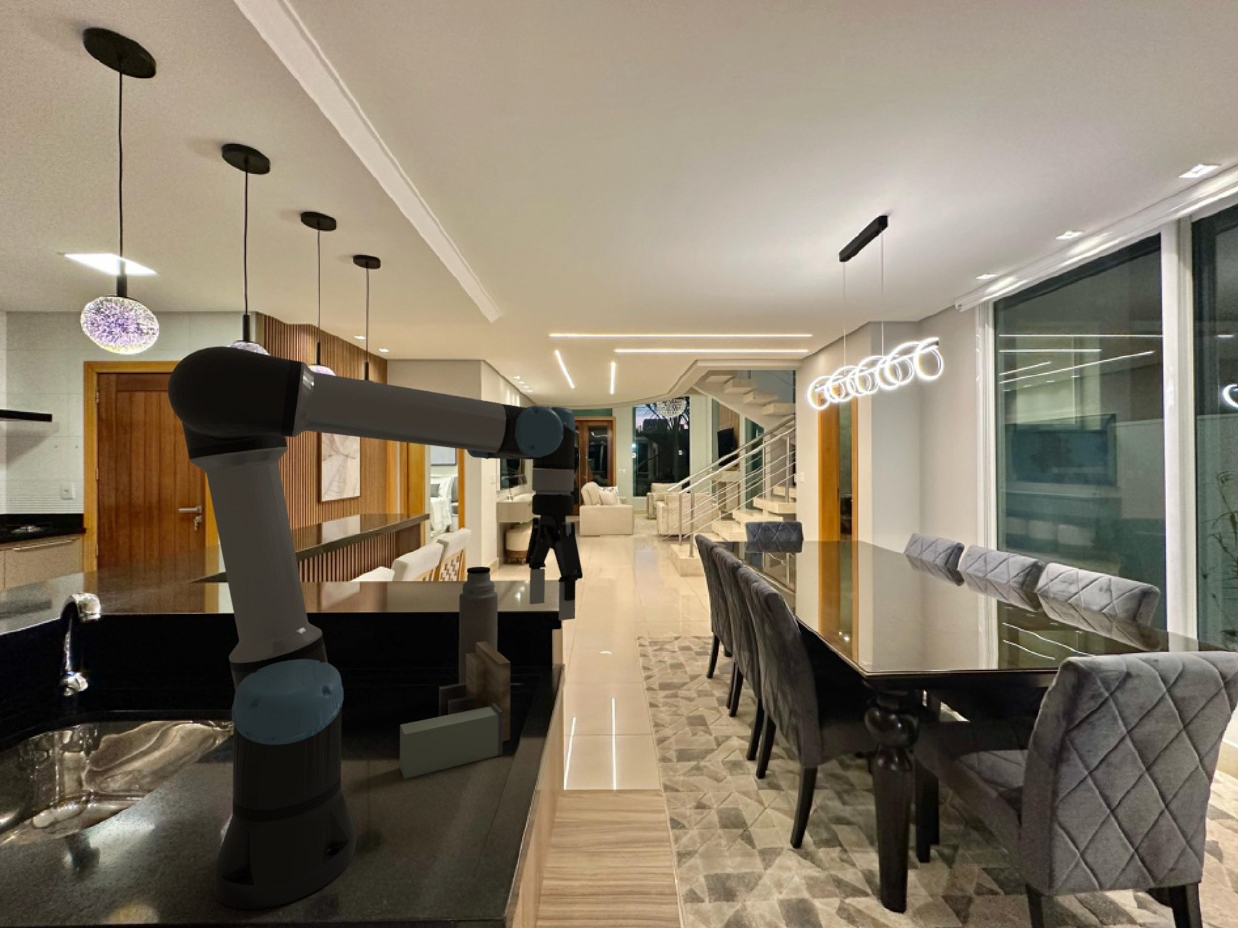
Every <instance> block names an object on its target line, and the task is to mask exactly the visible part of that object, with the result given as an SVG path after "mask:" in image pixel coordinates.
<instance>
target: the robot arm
mask: <svg viewBox="0 0 1238 928" xmlns="http://www.w3.org/2000/svg"><path fill="white" fill-rule="evenodd" d="M167 397H168V400H169V404H170V406H171V408H172V410H173V413H174V414H175V415H176V416H177V417H178V418H179V420H180V421H181V424H182V428H183V434H184V440H185V444H186V450H187V453H188V459H189V462H190V463H191V464H193V465H195V466H196V467H198V468H199V469H201V470H203V472H204V473H206V479H207V483H208V489H209V493H210V494H209V495H210V500H211V503H212V508H213V515H214V519H215V524H216V530H217V534H218V540H219V544H220V550H221V554H222V561H223V565H224V570H225V575H226V581H227V585H228V589H229V594H230V601H231V606H232V610H233V611H232V612H233V616H234V620H235V625H236V630H237V636H238V640H239V641H238V643H237V644H236V646H235V647H234V648H233V650H232V651H230V652H231V653H230V654H229V655H228V659H229V665H230V670H231V671H230V672H231V675H232V680H233V684H234V686H233V687H234V690H235V693H234V700H233V703H232V706H231V720H232V722H233V737H232V739H233V742H232V745H233V746H232V813H231V818H230V821H229V823H228V827H227V829H226V832H225V834H224V838H223V840H222V843H221V846H220V847H219V852H218V854H217V857H216V860H215V862H214V866H213V867H214V868H213V881H212V882H213V883H212V885H213V888H212V889H213V894H214V897H216V899H217V900H218V902H220V903H222V905H225V906H227V907H230V908H233V909H237V910H259V909H260V910H261V909H262V910H263V909H268V908H273V907H276V906H277V907H278V906H282V905H285V904H288V903H292V902H294V901H297V900H299V899H302V898H304V897H306V896H307V897H308V895H311V894H313V893H315V892H316V891H318V890H320V889H322V888H324V887H325V886H326V885H328V884H330V882H332V881H334V880H335V879H336V878H337V877H338V876H340V874H341V873H342V872H344V871H345V870H346V868H347V867H348V866H349V865H350V863H351V861H352V859H354V855H355V852H356V827H355V824H354V821H353V818H352V815H351V813H350V810H349V808H348V805H347V802H346V799H345V797H344V794H343V791H342V780H341V779H342V706H343V701H344V687H343V685H342V678H341V674H340V672H339V671H338V669H337V668H336V666H333V665H332V664H330V663H329V662H328V656H327V651H326V645H325V641H324V637H323V631H322V629H320V628H319V627H317V626H315V625H313V624H311V623H310V622H309V620H308V615H307V614H308V613H307V609H306V603H305V599H304V594H303V593H304V592H303V587H302V582H301V577H300V571H299V566H298V561H297V556H296V555H297V554H296V551H295V545H294V539H293V534H292V529H291V523H290V519H289V513H288V507H287V503H286V497H285V491H284V487H283V481H282V477H281V471H280V465H279V461H280V459H282V457H283V456H284V455H285V453H286V452H287V451H288V449H289V448H288V442H287V438H296V437H298V436H299V435H301V434H302V433H303V432H312V433H313V432H315V433H323V434H330V435H339V436H347V437H348V436H349V437H356V438H364V439H373V440H384V441H391V442H399V443H407V444H408V443H409V444H416V445H417V444H418V445H426V446H432V447H433V446H434V447H441V448H442V447H444V448H449V449H458V450H459V449H460V450H465V451H467V453H468V454H469V456H471V457H472V458H475V459H476V458H477V459H478V458H479V459H485V460H489V459H497V460H498V459H500V460H532V469H531V470H532V475H531V477H532V478H531V479H532V480H531V482H532V483H531V490H532V491H533V492H535V493H534V494H533V495H532V496H531V499H532V500H531V513H532V514H533V515H534V516H536V517H533V518H532V521H531V522H532V525H531V531H530V536H529V541H528V546H527V551H526V556H525V563H526V564H527V565H528V568H529V569H530V570H529V604H530V605H538V604H545V595H546V593H545V590H546V587H545V585H546V580H545V579H546V569H545V568H547V565H546V562H545V561H546V560H547V558H548V554H549V551H550V549H552V550H553V553H554V557H555V560H556V564H557V567H558V570H559V573H560V577H559V578H558V580H557V581H558V583H559V585H558V586H559V587H558V620H559V621H567V620H575V619H576V583H577V582H578V580H581V579H583V577H584V574H583V569H582V563H581V559H580V553H579V548H578V543H577V536H576V524H575V521H569V522H567V518H566V517H567V516H571V515H573V514H574V513H575V512H574V511H575V510H574V509H575V506H574V505H575V504H574V503H575V497H574V495H573V494H571V492H574V490H575V480H576V478H577V477H576V475H575V452H576V451H575V450H576V448H575V447H576V446H575V444H576V435H577V432H576V418H575V413H574V411H573V410H572V409H570V408H567V407H561V406H543V405H542V406H541V405H531V406H527V407H525V406H520V405H519V406H517V405H514V404H513V405H512V404H507V403H500V402H496V401H495V402H494V401H489V400H483V399H479V398H477V399H476V398H471V397H466V396H465V397H464V396H459V395H453V394H448V393H447V394H446V393H443V392H442V393H441V392H435V391H429V390H424V389H423V390H422V389H419V388H418V389H417V388H412V387H411V388H410V387H407V386H406V387H405V386H398V385H393V384H387V383H382V382H381V383H380V382H375V381H370V380H364V379H363V380H362V379H358V378H353V377H352V378H351V377H345V376H339V375H334V374H329V373H323V372H322V373H321V372H316V371H313V370H312V369H311V368H310V367H309V366H308V365H307V363H305V361H300V360H294V359H289V358H284V357H278V356H275V355H269V354H265V353H261V352H257V351H253V350H252V351H251V350H247V349H243V348H239V347H238V348H237V347H233V346H224V345H223V346H221V345H219V346H211V347H210V346H209V347H205V348H201V349H198V350H195V351H193V352H191V353H189V354H188V355H186V356H185V357H184V358H183V359H181V360H180V361H179V362H178V363H177V364H176V365H175V367H174V368H173V370H172V371H171V373H170V376H169V380H168V382H167ZM537 516H539V517H537ZM576 581H577V582H576Z"/></svg>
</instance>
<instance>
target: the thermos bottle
mask: <svg viewBox="0 0 1238 928" xmlns="http://www.w3.org/2000/svg"><path fill="white" fill-rule="evenodd" d="M466 573H467V574H466V581H465V582H464V583H463V584H462V588H461V590H462V593H460V594H459V596H458V597H459V598H458V599H459V605H458V606H459V607H458V609H459V611H458V612H459V613H458V614H459V615H458V621H459V623H458V684H460V683H465V684H466V654H470V653H476V643H477V642H484V641H486V642H487V643H488V644H489V645H491V646H492V647H493V648H494V649H495V650H497V651H498V608H499V607H498V600H499V599H498V598H499V597H498V592H496V591H495V588H496V586H495V583H494V581H493V580H491V574H490V573H491V567H489V566H473V567H468V568H466Z"/></svg>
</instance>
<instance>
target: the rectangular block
mask: <svg viewBox="0 0 1238 928" xmlns="http://www.w3.org/2000/svg"><path fill="white" fill-rule="evenodd" d="M502 741H503V711H502V710H501V709H500V708H499V707H498V706H497V705H496V704H495V703H491V706H490V707H485V708H480V709H475V710H470V711H465V712H460V713H456V714H451V715H446V716H441V717H439V716H437V717H432V718H428V719H421V720H418V721H412V722H408V723H402V724H399V769H400V772H401V775H402V777H403V779H404V780H406V779H410V778H414V777H418V776H421V775H426V774H430V773H434V772H438V771H442V770H445V769H449V768H455V767H457V766H461V765H465V764H469V763H474V762H478V761H481V760H486V759H490V758H493V757H497V756H503V742H504V741H503V742H502Z"/></svg>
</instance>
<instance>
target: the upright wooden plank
mask: <svg viewBox="0 0 1238 928" xmlns="http://www.w3.org/2000/svg"><path fill="white" fill-rule="evenodd" d="M491 703H495V704H496V705H497V706H498V707H499V708H500V709H501V710H502V711H503V741H502V743H504V742H506V741H510V740H511V661H510V660H508V659H507V658H506V657H505V656H504V655H502V654H501V653H500V652H499V651H498V649H497V650H495V649H494V648H493V647H492V646H491V645H489V644H488V643H487V642H486V641H484V642H477V643H476V653H470V654H466V684H465V683H460V684H459V683H455V684H450V685H443V686H439V687H438V717H441V716H446V715H451V714H456V713H460V712H465V711H470V710H475V709H480V708H485V707H490V706H491Z"/></svg>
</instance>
